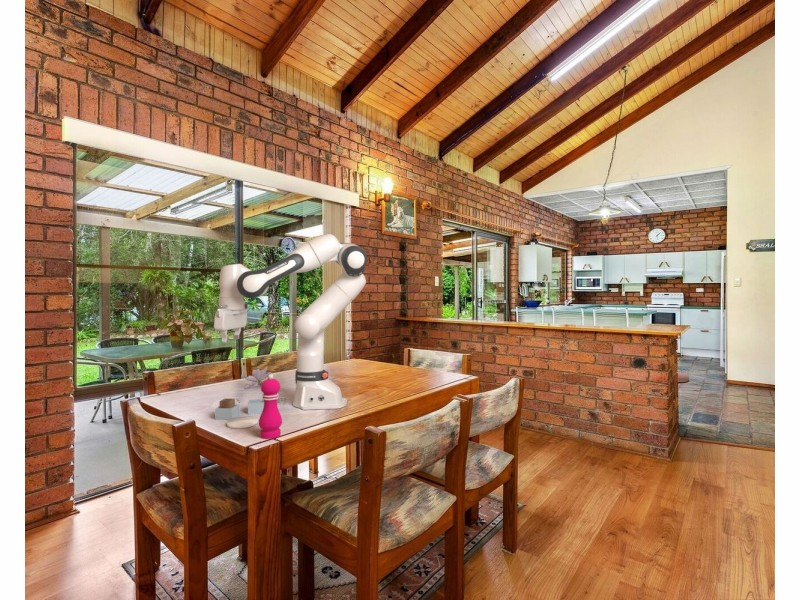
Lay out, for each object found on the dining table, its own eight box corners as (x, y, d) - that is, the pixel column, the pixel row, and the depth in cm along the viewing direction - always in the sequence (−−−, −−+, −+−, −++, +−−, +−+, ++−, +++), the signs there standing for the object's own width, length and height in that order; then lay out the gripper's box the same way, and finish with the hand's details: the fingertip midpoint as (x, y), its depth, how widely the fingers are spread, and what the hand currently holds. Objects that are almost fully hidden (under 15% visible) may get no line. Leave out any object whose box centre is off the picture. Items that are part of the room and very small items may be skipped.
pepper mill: (266, 441, 127) (266, 377, 127) (254, 435, 132) (254, 374, 132) (286, 435, 133) (286, 374, 133) (274, 430, 138) (274, 371, 137)
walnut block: (234, 415, 154) (234, 398, 154) (230, 419, 150) (230, 401, 150) (224, 415, 154) (224, 398, 154) (219, 418, 150) (219, 401, 150)
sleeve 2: (265, 408, 164) (265, 398, 164) (265, 412, 158) (265, 402, 158) (248, 409, 162) (248, 399, 162) (247, 414, 156) (247, 403, 156)
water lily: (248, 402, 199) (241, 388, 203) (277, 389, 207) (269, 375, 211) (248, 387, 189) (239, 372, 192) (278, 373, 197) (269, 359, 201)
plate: (262, 419, 149) (262, 416, 149) (251, 428, 139) (251, 425, 139) (234, 419, 150) (234, 415, 150) (221, 428, 139) (221, 424, 139)
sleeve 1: (239, 414, 155) (239, 404, 155) (231, 419, 149) (231, 408, 149) (223, 414, 155) (223, 404, 155) (215, 419, 149) (215, 408, 149)
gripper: (226, 305, 148) (225, 343, 148) (250, 304, 169) (249, 338, 169) (209, 305, 149) (208, 343, 149) (235, 304, 169) (234, 337, 169)
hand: (230, 340), depth 159 cm, fingers open, 8 cm apart
